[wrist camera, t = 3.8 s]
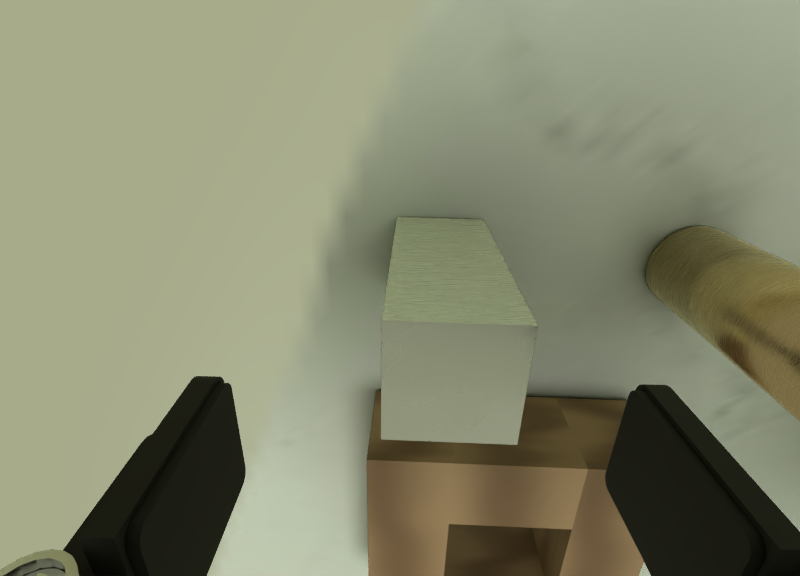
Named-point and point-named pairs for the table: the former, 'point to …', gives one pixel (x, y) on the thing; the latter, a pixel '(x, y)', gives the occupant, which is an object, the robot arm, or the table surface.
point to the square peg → (452, 336)
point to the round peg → (735, 304)
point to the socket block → (501, 499)
